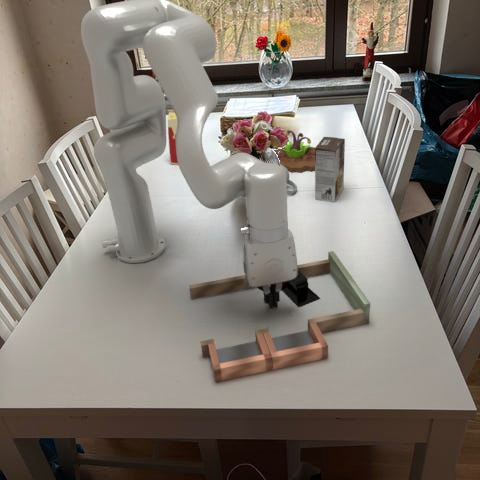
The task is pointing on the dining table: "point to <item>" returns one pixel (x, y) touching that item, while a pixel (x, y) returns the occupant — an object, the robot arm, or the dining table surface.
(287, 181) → the ceramic mug
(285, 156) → the plant
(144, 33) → the robot arm
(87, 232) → the dining table surface
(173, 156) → the milk carton
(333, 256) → the track
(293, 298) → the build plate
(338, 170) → the coffee box
